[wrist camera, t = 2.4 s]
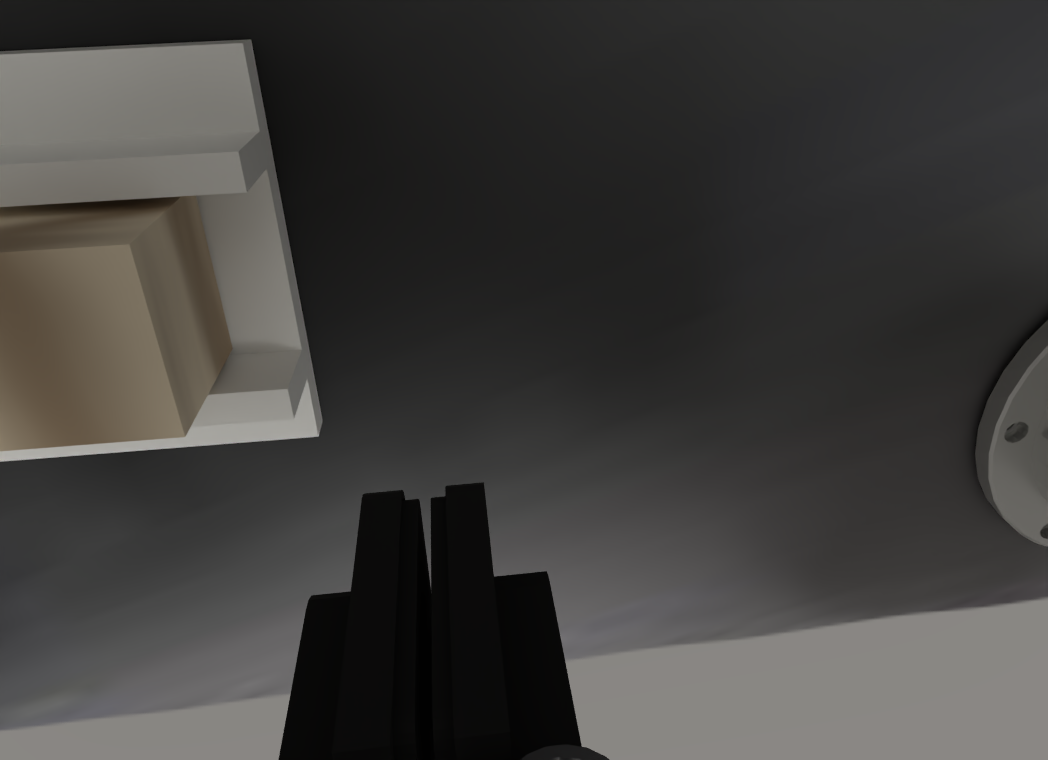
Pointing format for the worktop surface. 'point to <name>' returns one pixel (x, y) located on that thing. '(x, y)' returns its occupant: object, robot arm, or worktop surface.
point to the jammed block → (106, 322)
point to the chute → (171, 171)
